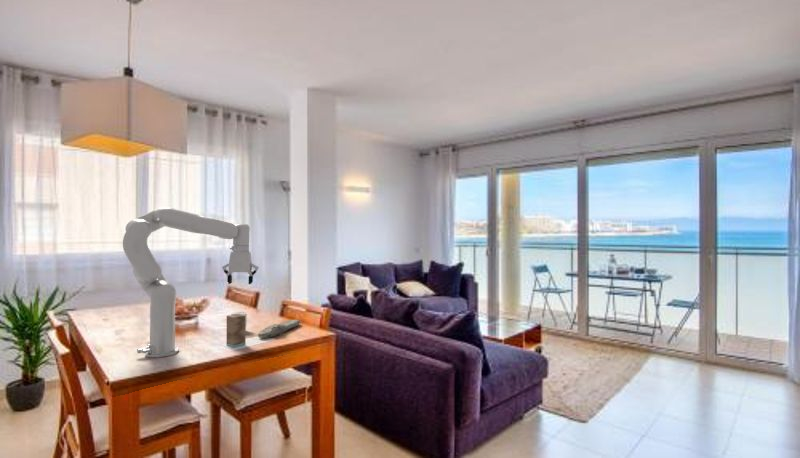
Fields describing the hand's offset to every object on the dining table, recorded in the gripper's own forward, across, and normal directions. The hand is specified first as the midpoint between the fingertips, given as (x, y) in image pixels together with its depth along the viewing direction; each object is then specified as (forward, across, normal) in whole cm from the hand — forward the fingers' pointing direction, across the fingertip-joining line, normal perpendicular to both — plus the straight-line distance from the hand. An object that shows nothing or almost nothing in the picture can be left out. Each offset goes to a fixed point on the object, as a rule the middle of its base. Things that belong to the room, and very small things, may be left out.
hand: (240, 283), depth 202 cm
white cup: (+28, -4, +14) cm, 31 cm away
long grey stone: (+27, +17, +14) cm, 35 cm away
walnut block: (+27, +2, -11) cm, 30 cm away
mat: (+28, +7, -6) cm, 29 cm away
